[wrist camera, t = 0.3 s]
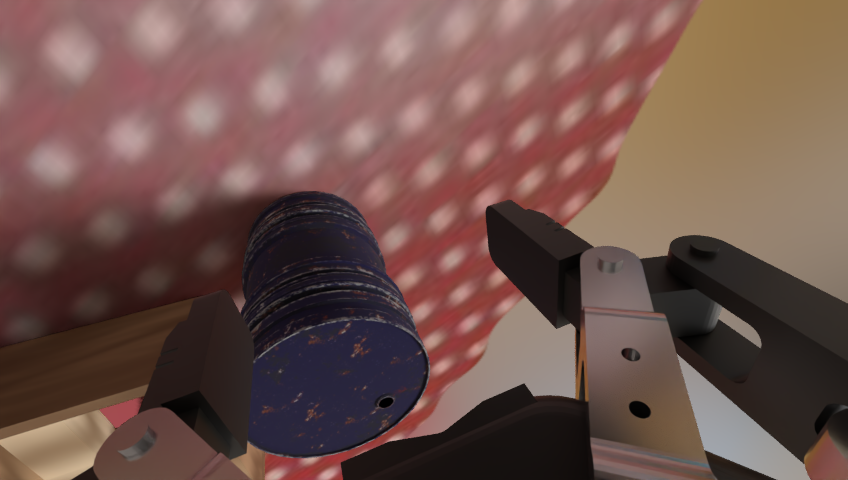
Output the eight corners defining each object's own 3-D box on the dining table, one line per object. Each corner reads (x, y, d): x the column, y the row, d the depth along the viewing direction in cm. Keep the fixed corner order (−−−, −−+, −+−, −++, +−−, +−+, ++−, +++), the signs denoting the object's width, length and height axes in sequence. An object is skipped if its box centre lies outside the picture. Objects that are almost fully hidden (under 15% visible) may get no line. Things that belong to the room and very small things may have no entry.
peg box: (-49, 360, 26) (-157, 476, 19) (203, 295, 30) (184, 373, 23) (83, 477, 34) (39, 584, 28) (265, 415, 38) (264, 496, 32)
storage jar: (223, 272, 29) (189, 452, 17) (281, 166, 27) (290, 289, 15) (335, 307, 35) (371, 464, 22) (393, 222, 32) (467, 345, 20)
